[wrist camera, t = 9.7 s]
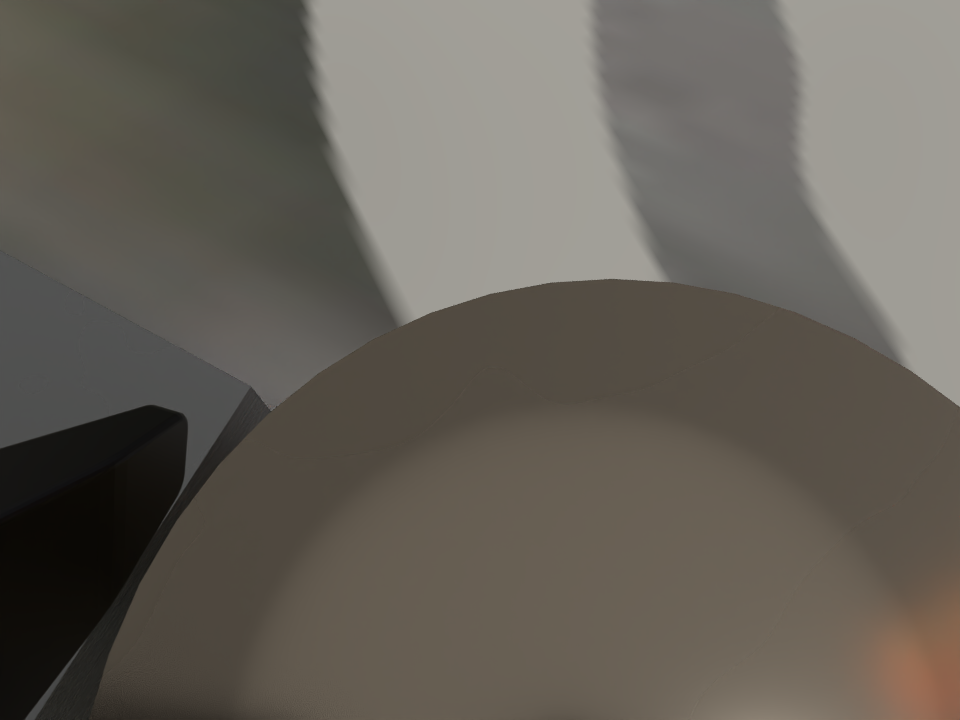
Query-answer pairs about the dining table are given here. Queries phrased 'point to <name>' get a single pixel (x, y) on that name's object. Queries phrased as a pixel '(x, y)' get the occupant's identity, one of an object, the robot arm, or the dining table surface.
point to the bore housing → (98, 394)
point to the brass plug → (569, 528)
